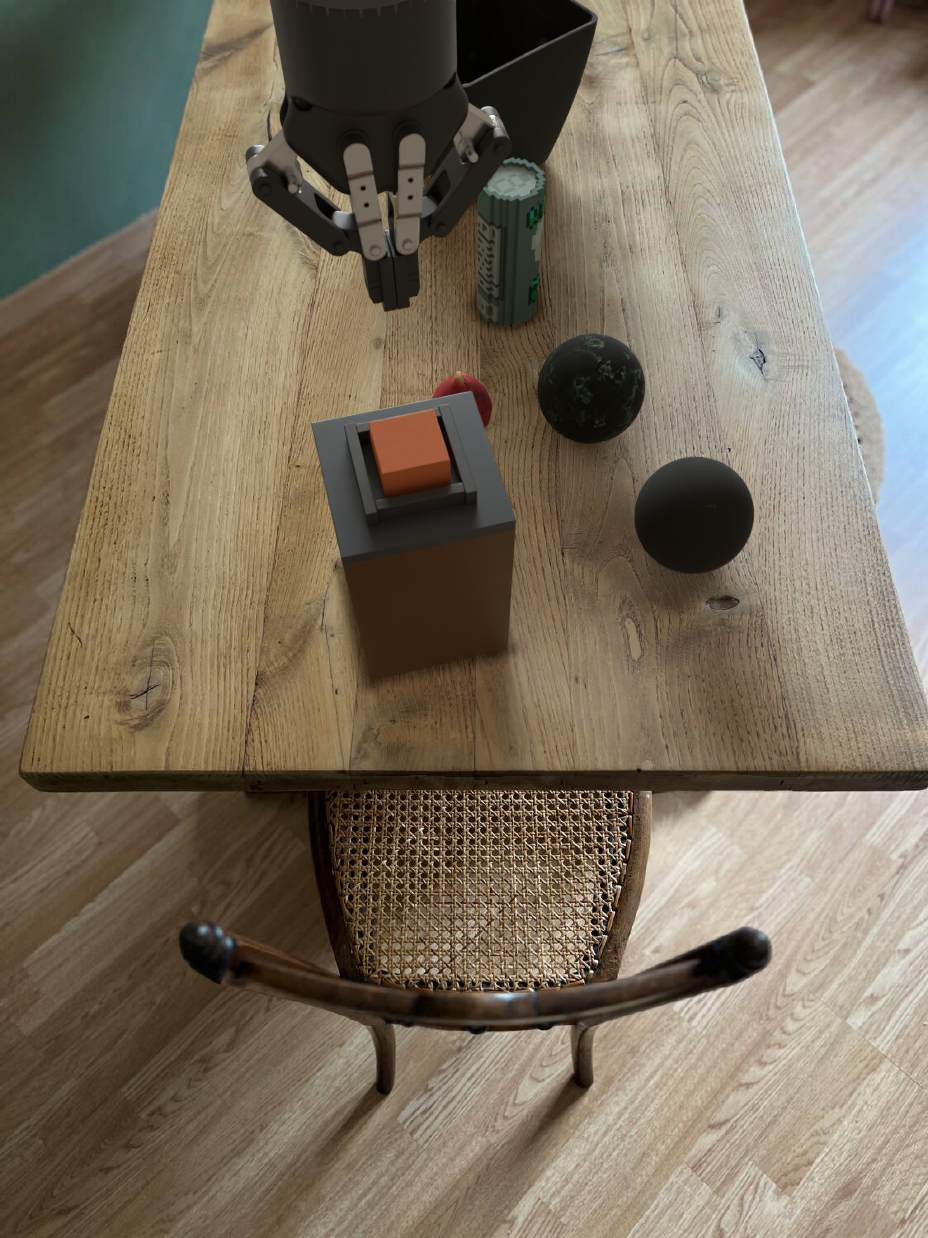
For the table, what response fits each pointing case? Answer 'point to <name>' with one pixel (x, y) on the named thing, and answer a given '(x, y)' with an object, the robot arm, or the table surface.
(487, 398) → the onion
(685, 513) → the black ball
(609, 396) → the decorative stone
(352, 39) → the robot arm
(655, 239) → the table surface
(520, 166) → the can
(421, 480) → the block
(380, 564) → the brown holder box
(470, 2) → the flower pot
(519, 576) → the table surface
